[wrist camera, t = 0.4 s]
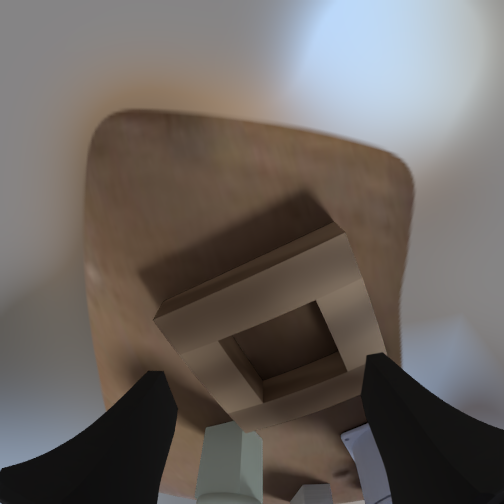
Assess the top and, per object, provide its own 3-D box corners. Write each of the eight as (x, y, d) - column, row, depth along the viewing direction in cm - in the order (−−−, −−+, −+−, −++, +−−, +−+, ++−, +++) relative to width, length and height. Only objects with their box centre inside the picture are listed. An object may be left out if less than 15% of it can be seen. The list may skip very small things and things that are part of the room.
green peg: (270, 440, 25) (272, 522, 16) (224, 451, 26) (217, 527, 17) (245, 413, 24) (241, 505, 15) (197, 425, 24) (181, 509, 15)
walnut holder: (383, 359, 21) (393, 378, 19) (246, 411, 23) (245, 433, 21) (334, 221, 18) (345, 232, 16) (163, 301, 20) (152, 319, 18)
